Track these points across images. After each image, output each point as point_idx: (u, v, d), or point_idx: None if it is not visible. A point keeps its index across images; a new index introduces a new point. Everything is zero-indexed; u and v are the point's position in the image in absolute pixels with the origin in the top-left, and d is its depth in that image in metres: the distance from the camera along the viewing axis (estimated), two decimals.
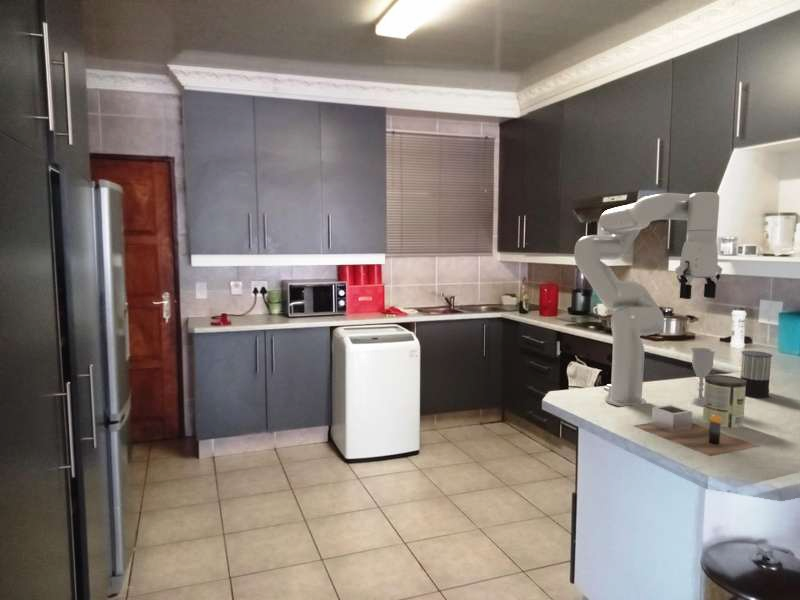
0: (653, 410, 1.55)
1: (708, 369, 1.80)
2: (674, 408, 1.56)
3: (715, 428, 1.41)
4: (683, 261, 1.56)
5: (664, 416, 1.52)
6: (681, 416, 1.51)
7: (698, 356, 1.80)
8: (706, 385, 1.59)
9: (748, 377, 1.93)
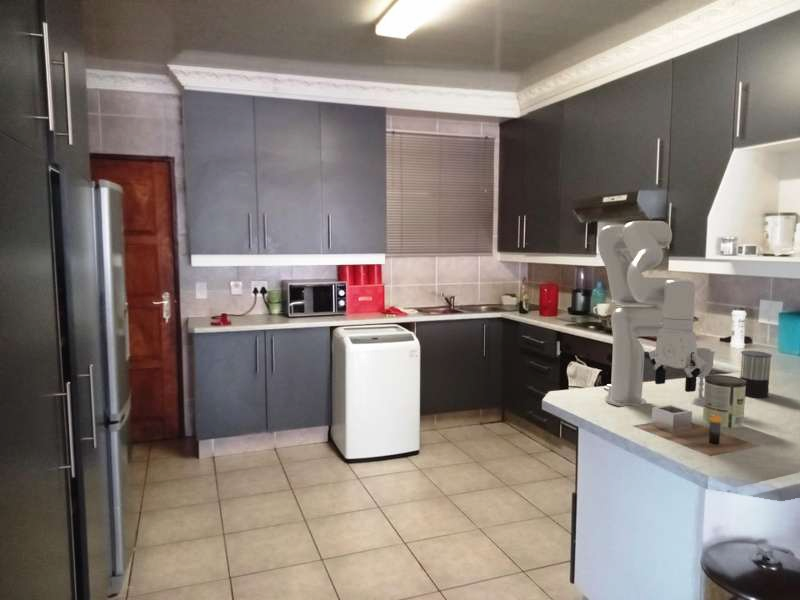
0: (653, 410, 1.55)
1: (708, 369, 1.80)
2: (674, 408, 1.56)
3: (715, 428, 1.41)
4: (689, 353, 1.47)
5: (664, 416, 1.52)
6: (681, 416, 1.51)
7: (698, 356, 1.80)
8: (706, 385, 1.59)
9: (748, 377, 1.93)
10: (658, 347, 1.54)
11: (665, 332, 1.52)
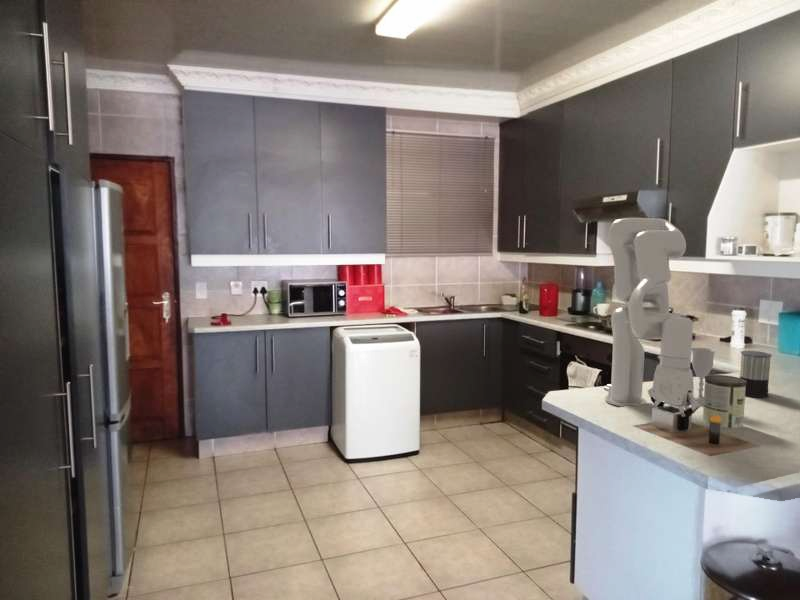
0: (653, 410, 1.55)
1: (708, 369, 1.80)
2: (674, 408, 1.56)
3: (715, 428, 1.41)
4: (686, 391, 1.48)
5: (664, 416, 1.52)
6: None
7: (698, 356, 1.80)
8: (706, 385, 1.59)
9: (747, 377, 1.93)
10: (655, 383, 1.56)
11: (662, 369, 1.53)
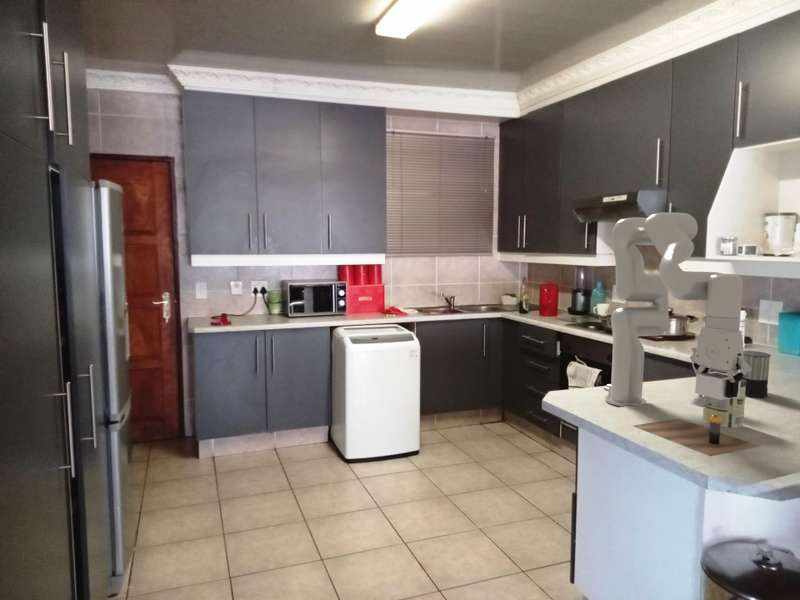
0: (697, 376, 1.42)
1: None
2: (720, 374, 1.43)
3: (715, 428, 1.41)
4: (736, 354, 1.35)
5: (710, 382, 1.39)
6: None
7: None
8: None
9: (746, 377, 1.93)
10: (700, 347, 1.42)
11: (708, 331, 1.40)
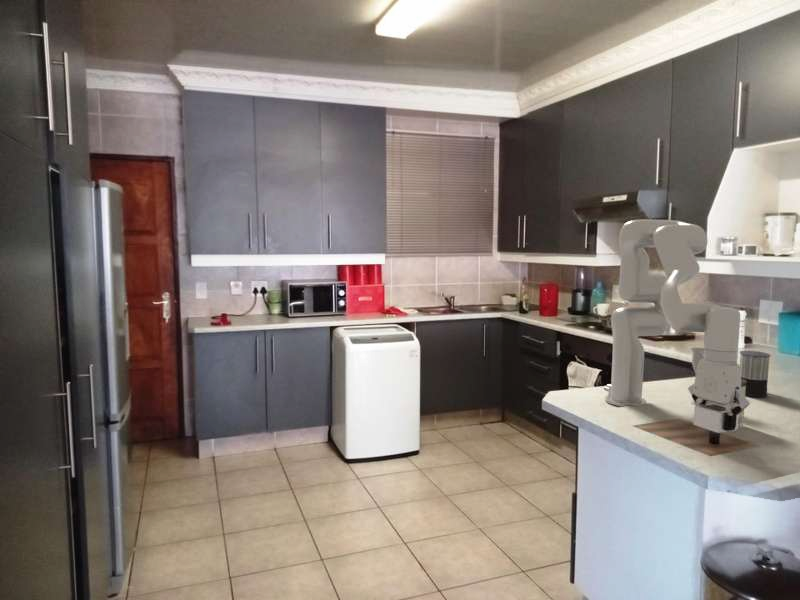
0: (695, 408, 1.43)
1: None
2: (718, 406, 1.44)
3: None
4: (734, 388, 1.36)
5: (708, 415, 1.40)
6: None
7: (698, 356, 1.80)
8: None
9: (746, 377, 1.93)
10: (698, 379, 1.43)
11: (706, 364, 1.41)
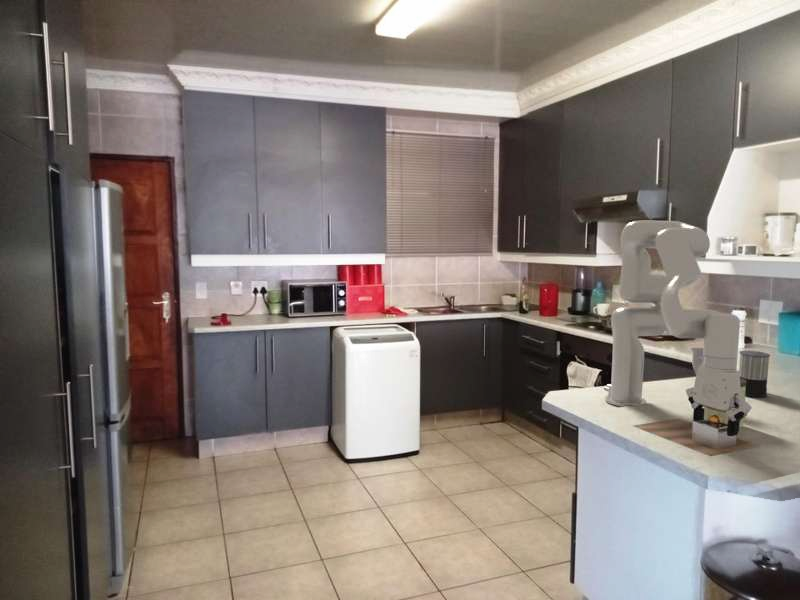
0: (694, 424, 1.44)
1: None
2: None
3: None
4: (733, 394, 1.36)
5: (707, 431, 1.40)
6: (726, 431, 1.39)
7: (698, 356, 1.80)
8: None
9: (746, 377, 1.93)
10: (697, 385, 1.43)
11: (706, 370, 1.41)
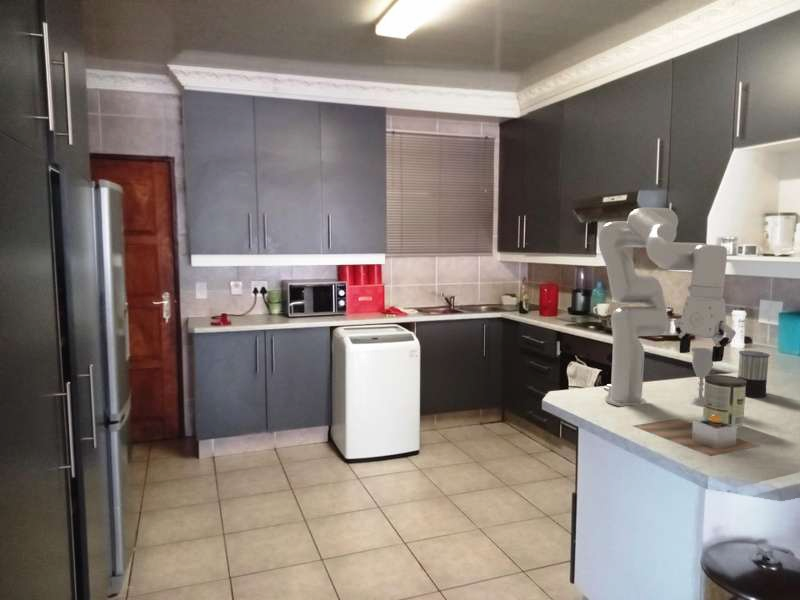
0: (694, 424, 1.44)
1: (708, 369, 1.80)
2: None
3: None
4: (718, 321, 1.41)
5: (707, 431, 1.40)
6: (726, 431, 1.39)
7: (698, 356, 1.80)
8: (706, 385, 1.59)
9: (745, 377, 1.93)
10: (684, 315, 1.48)
11: (693, 300, 1.46)
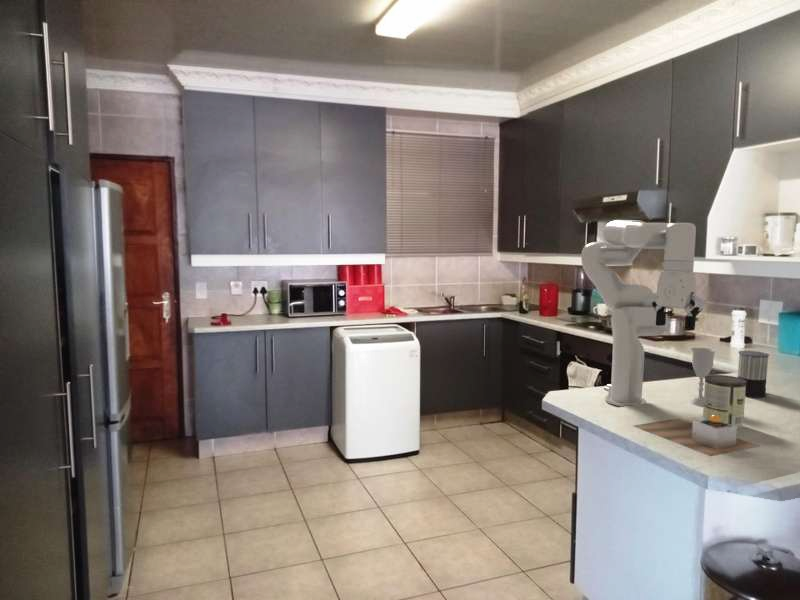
0: (694, 424, 1.44)
1: (708, 369, 1.80)
2: None
3: None
4: (689, 293, 1.52)
5: (707, 431, 1.40)
6: (726, 431, 1.39)
7: (698, 356, 1.80)
8: (706, 385, 1.59)
9: (745, 377, 1.93)
10: (659, 289, 1.60)
11: (666, 274, 1.57)
